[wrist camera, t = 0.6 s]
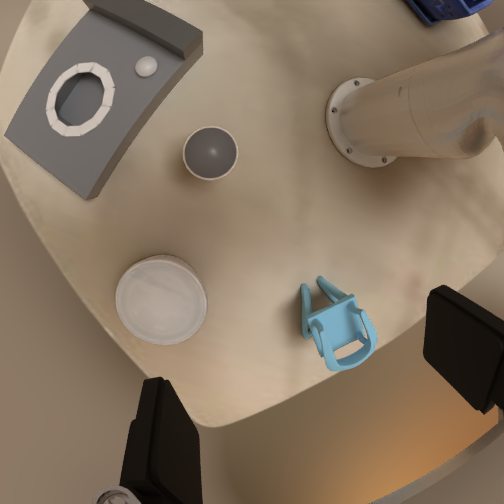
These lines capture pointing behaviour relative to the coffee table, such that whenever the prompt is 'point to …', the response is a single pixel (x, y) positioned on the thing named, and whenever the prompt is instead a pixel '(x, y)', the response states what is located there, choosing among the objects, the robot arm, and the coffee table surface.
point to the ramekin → (161, 300)
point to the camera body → (102, 90)
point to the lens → (210, 153)
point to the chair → (337, 327)
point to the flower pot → (446, 9)
